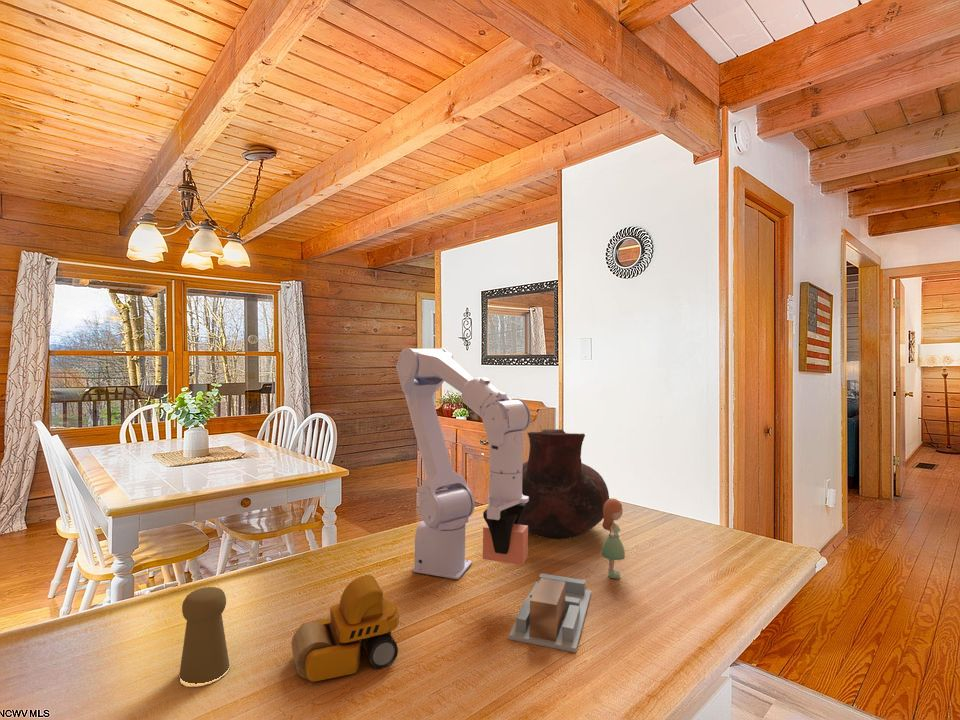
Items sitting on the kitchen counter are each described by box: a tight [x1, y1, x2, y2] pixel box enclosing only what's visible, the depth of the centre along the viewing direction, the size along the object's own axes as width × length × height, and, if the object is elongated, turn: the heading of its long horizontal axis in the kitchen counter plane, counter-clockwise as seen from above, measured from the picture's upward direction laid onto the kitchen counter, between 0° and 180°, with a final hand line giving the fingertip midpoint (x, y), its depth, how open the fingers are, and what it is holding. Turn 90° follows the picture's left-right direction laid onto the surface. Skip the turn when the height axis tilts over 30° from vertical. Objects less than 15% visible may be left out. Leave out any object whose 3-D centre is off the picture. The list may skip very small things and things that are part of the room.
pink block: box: [482, 523, 529, 566], centre depth 92 cm, size 7×4×6 cm, turn 71°
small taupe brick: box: [529, 578, 566, 642], centre depth 82 cm, size 4×8×6 cm, turn 161°
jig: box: [508, 572, 592, 653], centre depth 87 cm, size 10×19×3 cm, turn 161°
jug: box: [519, 428, 610, 540], centre depth 125 cm, size 25×25×25 cm
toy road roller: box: [291, 574, 400, 682], centre depth 74 cm, size 9×14×10 cm, turn 116°
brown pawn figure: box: [178, 586, 230, 684], centre depth 70 cm, size 6×6×11 cm
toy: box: [601, 497, 626, 579], centre depth 101 cm, size 13×4×15 cm, turn 168°
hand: (504, 548), depth 92 cm, fingers closed on pink block, 4 cm apart
